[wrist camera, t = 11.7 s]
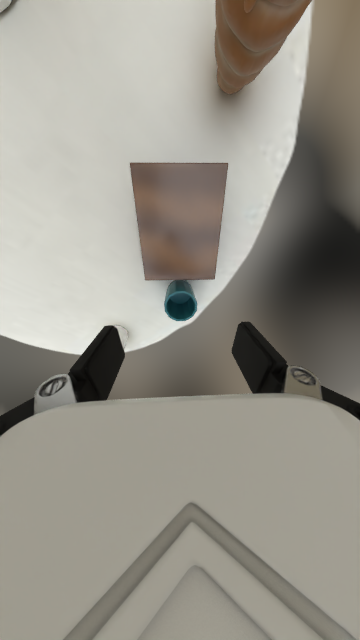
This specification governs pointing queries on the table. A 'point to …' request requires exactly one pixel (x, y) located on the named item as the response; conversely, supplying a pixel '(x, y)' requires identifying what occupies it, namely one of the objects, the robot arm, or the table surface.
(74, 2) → the table surface
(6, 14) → the table surface
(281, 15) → the brown ridged oblong lump
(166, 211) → the stand
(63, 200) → the table surface
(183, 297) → the drinking cup
